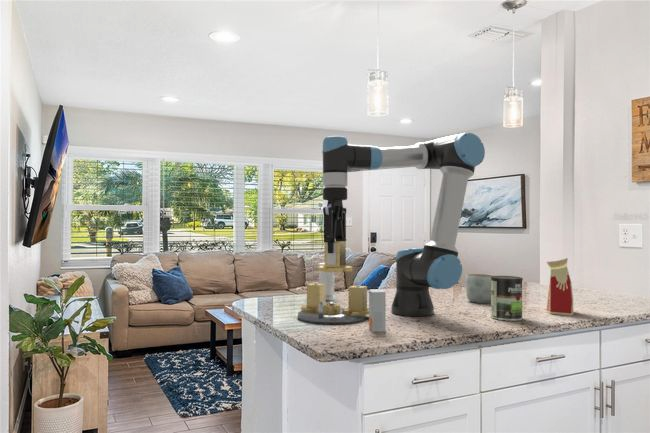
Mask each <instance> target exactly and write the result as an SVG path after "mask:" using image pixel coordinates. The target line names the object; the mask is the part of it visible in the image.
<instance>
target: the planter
mask: <svg viewBox="0 0 650 433" xmlns="http://www.w3.org/2000/svg"><path fill="white" fill-rule="evenodd" d="M492 276H497V275H495V274H487V273H469V274H465V288H466V290H465V292H466V297H467V300H468V301H469V302H471V303H476V304H491V277H492Z"/></svg>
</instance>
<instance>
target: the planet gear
mask: <svg viewBox="0 0 650 433" xmlns="http://www.w3.org/2000/svg"><path fill="white" fill-rule="evenodd" d="M323 243H324V247H323V248H324V252H323V255H324V257H323V258H324V262H323V263H324V266H319V265H318V266H317V272H319V271H321V272H334V273H345V272H353V271H354V270H353V265H347V263H346V262H347V261H346V260H347V257H346V255H347V252H346V247H347V244H346V243H347V240H346V241H336V240H335V242H334V243H336V264H327V242H324V241H323Z"/></svg>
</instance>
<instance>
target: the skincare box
mask: <svg viewBox="0 0 650 433" xmlns="http://www.w3.org/2000/svg"><path fill="white" fill-rule="evenodd" d="M386 300H387V299H386V291H385V290H383V289H377V288H376V289H374V288H373V289H368V308H369V315H368V328H369V329H370V330H371V332H372V333H375V332H376V333H377V332H379V333H381V332H382V333H383V332H386V329H387V328H386V322H387V320H386V312H387V308H386V306H387V305H386Z"/></svg>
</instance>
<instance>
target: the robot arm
mask: <svg viewBox="0 0 650 433" xmlns="http://www.w3.org/2000/svg"><path fill="white" fill-rule="evenodd" d="M484 145H485V144H484V143H483V142H482V139H481V138H480V136H478V135H477V134H475V133H472V132H460V133H458V134H453V135H449V136H448V135H447V136H444V137H439V138H436V139H433V140H427V141H425V142H423V141H422V142H417V143H415V144H414V145H408V146H407V145H406V146H392V147H391V146H389V147H388V146H387V147H379V146H375V145H371V144H368V145H363V144H351V143H349V142H348V138H347V137H346V136H342V135H331V136H326V137H324V138H323V139H322V151H321V153H322V177H321V180H322V186H323V189H322V200H324V201H327V204H326V206H324V207H322V214H323V243H324V242H327V264H336V243H334V242H335V241H346V242H347V215H346V214H347V207H344V205H343V201H347V200H348V189H347V187H348V173H356V172H367V171H379V170H391V169H403V168H416V169H418V170H439V171H440V172H441V174H442V179H441V184H440V187H439V188H440V189H439V194H438V199H437V204H436V208H435V214H434V218H433V222H432V228H431V232H430V237H429V241H428V242H427V243H425V244H423V247H421V248H418V247H417V248H406V249H399V250H398V251H397V252H396V258H395V262H396V264H395V265H396V266H395V267H396V269H395V270H396V271H395V272H396V273H395V274H396V276H395V278H396V282H395V283H396V289H395V290H396V291H395V294H394V298H393V300H392V303H391V313H392V314H394V315H399V316H407V317H424V316H431V315H433V314H434V313H435V306H434V304H433V301H432V298H431V294H430V288H433V289H436V290H448V289H451V288H453V287H454V286H455V285H457V283H459V281H460V279H461V277H462V274H463V265H462V264H461V260H460V258H459V257H458V256H459V251H458V249H457V248H456V242H457V237H458V232H459V226H460V223H461V222H460V221H461V217H462V216H461V215H462V213H463V206H464V202H465V197H466V191H467V186H468V183H469V182H468V180H469V179H470V178H471V177H473V176H474V174H475V170H476V167H478V165H480V164H482V163H483V161H484V159H485V155H486V152H485V151H486V150H485V146H484Z"/></svg>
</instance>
